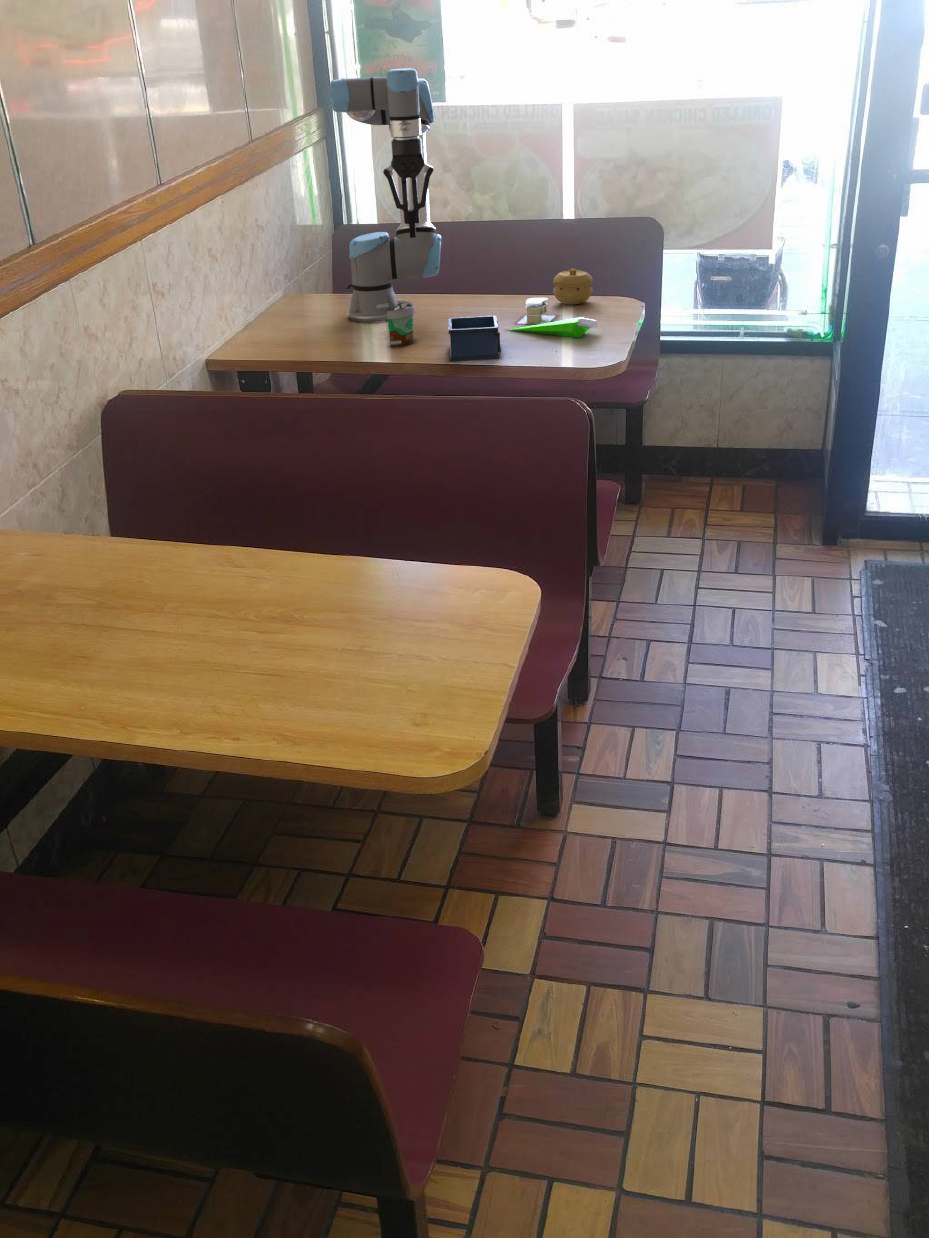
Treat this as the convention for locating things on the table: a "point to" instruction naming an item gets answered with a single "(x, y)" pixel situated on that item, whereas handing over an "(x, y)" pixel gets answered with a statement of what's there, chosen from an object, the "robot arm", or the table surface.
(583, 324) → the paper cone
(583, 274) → the pot
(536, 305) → the stacked layers on plate
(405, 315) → the food container
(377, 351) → the table surface
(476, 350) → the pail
